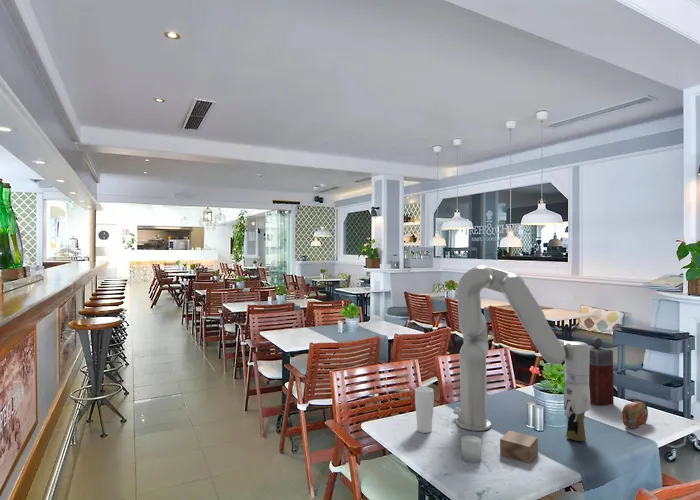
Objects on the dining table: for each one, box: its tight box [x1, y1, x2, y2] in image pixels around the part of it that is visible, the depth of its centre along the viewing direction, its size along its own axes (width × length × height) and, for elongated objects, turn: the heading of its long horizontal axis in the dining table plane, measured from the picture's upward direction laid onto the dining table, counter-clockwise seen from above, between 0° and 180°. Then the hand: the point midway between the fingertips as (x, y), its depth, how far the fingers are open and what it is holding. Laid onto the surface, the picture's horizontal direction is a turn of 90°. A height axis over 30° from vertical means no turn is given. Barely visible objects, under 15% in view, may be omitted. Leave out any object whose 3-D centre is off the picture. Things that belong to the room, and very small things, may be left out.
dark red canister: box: [589, 336, 615, 407], centre depth 190 cm, size 9×11×28 cm
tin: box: [621, 400, 649, 430], centre depth 162 cm, size 15×3×8 cm, turn 123°
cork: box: [565, 410, 587, 442], centre depth 149 cm, size 6×6×11 cm
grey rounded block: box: [460, 435, 482, 464], centre depth 135 cm, size 6×6×6 cm
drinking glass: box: [414, 386, 435, 434], centre depth 157 cm, size 7×7×15 cm
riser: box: [499, 430, 539, 464], centre depth 138 cm, size 9×9×5 cm
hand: (575, 430), depth 149 cm, fingers closed on cork, 3 cm apart
